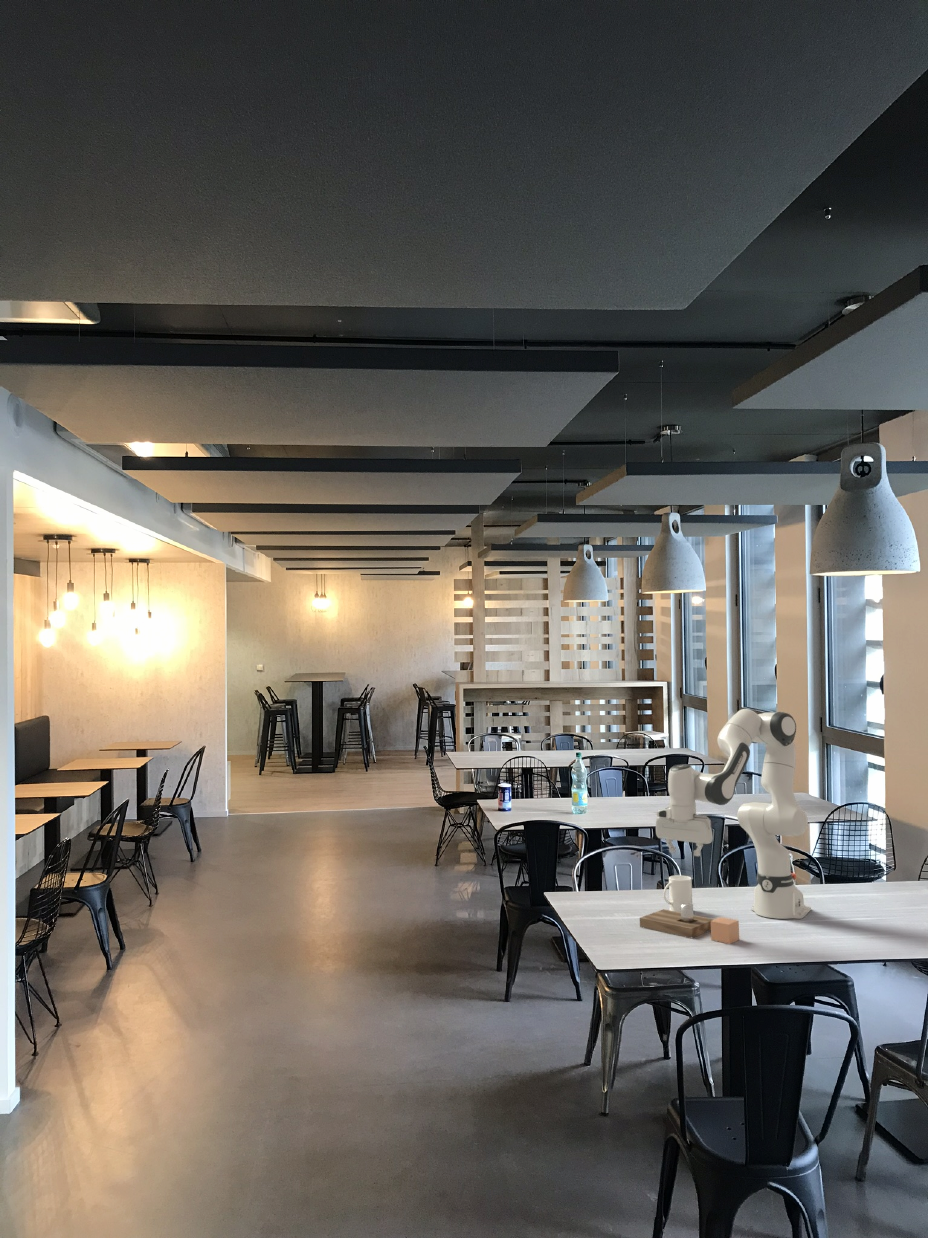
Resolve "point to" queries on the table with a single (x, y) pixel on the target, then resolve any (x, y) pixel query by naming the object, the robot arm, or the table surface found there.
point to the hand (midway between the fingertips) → (684, 854)
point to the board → (675, 923)
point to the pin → (687, 913)
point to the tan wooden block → (725, 930)
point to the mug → (679, 892)
